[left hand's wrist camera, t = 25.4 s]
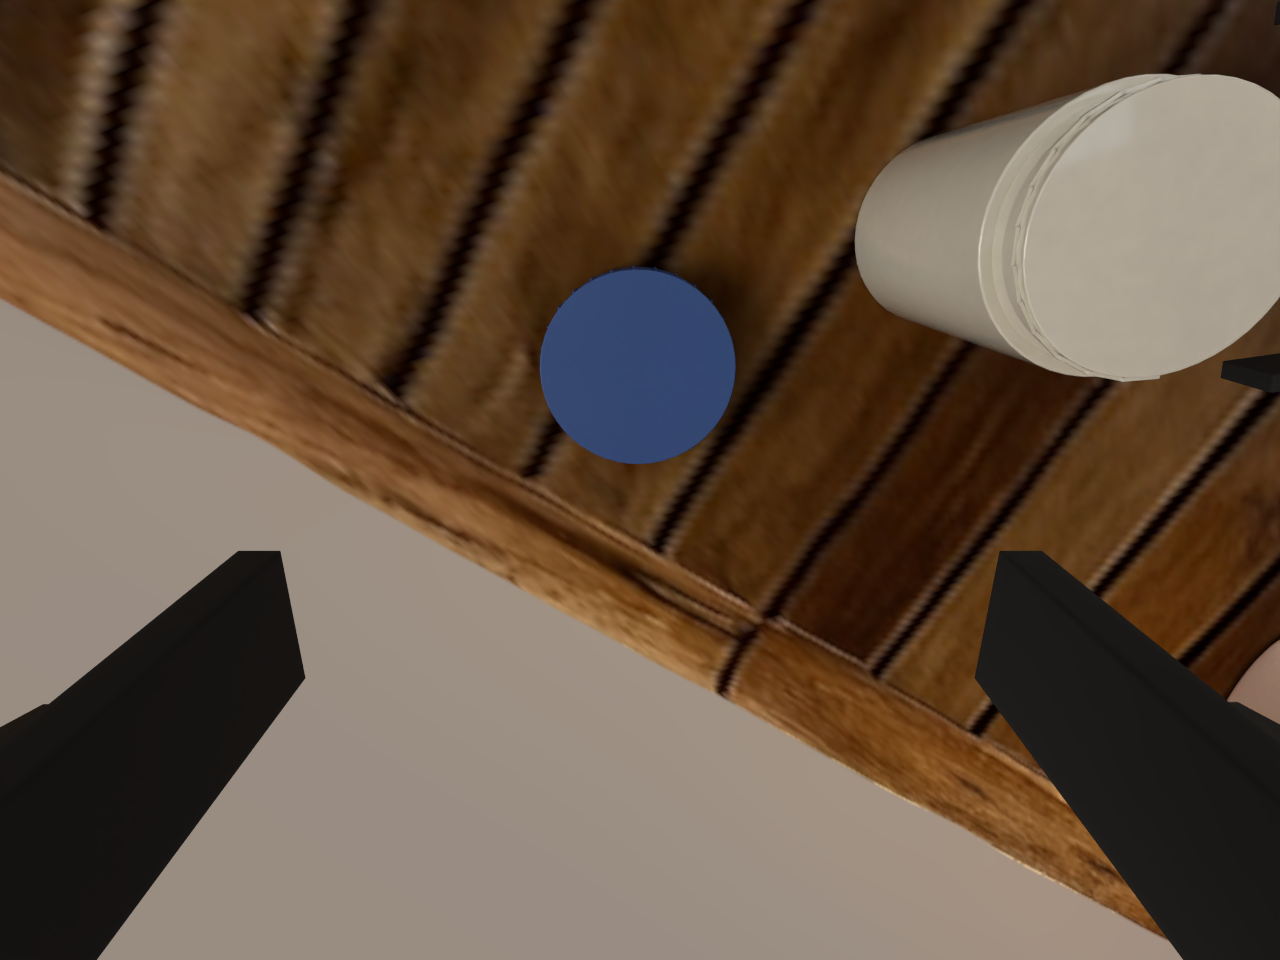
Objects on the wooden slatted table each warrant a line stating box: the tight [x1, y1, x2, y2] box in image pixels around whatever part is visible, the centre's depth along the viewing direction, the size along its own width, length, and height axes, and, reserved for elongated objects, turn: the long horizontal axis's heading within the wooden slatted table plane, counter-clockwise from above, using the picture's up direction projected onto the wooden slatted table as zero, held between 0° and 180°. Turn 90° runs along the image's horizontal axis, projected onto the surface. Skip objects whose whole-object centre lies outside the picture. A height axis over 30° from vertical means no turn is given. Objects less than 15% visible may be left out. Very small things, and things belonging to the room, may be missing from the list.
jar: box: [855, 74, 1280, 382], centre depth 28 cm, size 9×9×16 cm
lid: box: [540, 265, 736, 464], centre depth 37 cm, size 10×10×2 cm
